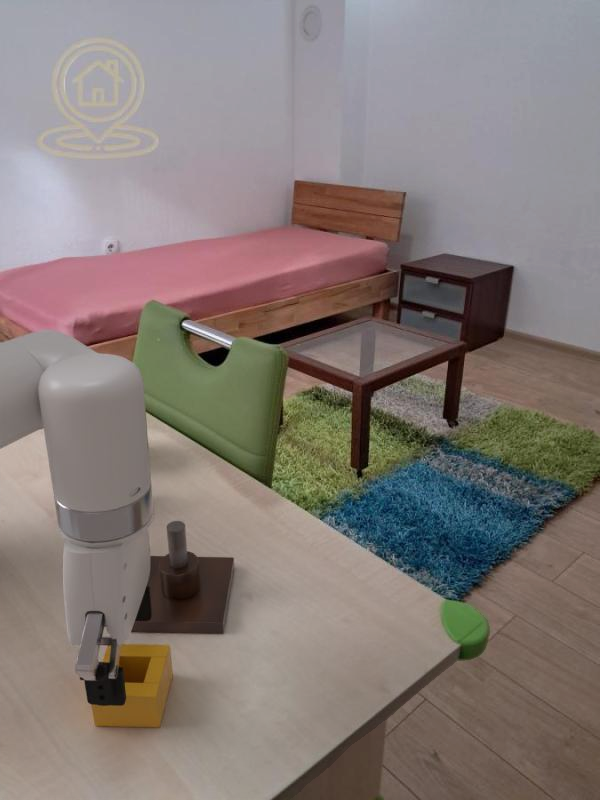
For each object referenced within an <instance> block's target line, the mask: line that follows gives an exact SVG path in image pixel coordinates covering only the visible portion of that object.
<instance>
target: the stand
mask: <svg viewBox="0 0 600 800" xmlns="http://www.w3.org/2000/svg"><path fill="white" fill-rule="evenodd" d="M166 536H167V547H168V553H167V554H165V555H150V574H149V582H148V585H147V586H150V595H151V607H152V617H151V619H150V620H149V621H135V622H134V625H133V628H132V630H131V633H175V634H178V633H182V634H224V630H225V627H226V619H227V613H228V607H229V601H230V596H231V589H232V584H233V583H232V582H233V578H234V571H235V557H232V556H230V557H229V556H197V554H196V553H193V552H191V551H188V545H187V533H186V524H185V522H184V521H181V520H173V521H170V522H168V524H166Z"/></svg>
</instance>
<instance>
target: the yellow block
mask: <svg viewBox="0 0 600 800" xmlns="http://www.w3.org/2000/svg"><path fill="white" fill-rule="evenodd" d="M110 651H111V646H107V647H106V649H105V653H104V655H103V658H102V661H101V662H109V660H110ZM172 661H173V660H172V652H171V645H170V644H139V643H135V644H134V643H124V644H122V645H121V649H120V658H119V667H121V668H123V673H124V682H125V690H126V701H125V704H124V705H122V706H115V705H108V706H100V705H92V704H90V706H91V712H92V717H93V723H94V726H95V727H119V728H120V727H121V728H122V727H124V728H125V727H127V728H160V727H161V724H162V721H163V717H164V712H165V708H166V704H167V700H168V695H169V691H170V687H171V685H172V684H171V683H172V680H173V676H174V673H173V672H174V671H173V663H172Z"/></svg>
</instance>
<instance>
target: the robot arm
mask: <svg viewBox="0 0 600 800" xmlns="http://www.w3.org/2000/svg"><path fill="white" fill-rule="evenodd" d="M145 393H146V392H145V383H144V378H143V374H142V373H141V371H140V368H139V367H138V366H137V365H136V364H135V363H134V362H133V361H131V360H129V359H128V358H126V357H124V356H121V355H117V354H111V353H99V352H97V351H95V350H93V349H92V348H90V347H89V346H87V345H85V344H84V343H82V342H80V341H79V340H78V339H76V338H74V337H73V336H71V335H69V334H67V333H64V332H62V331H59V330H53V329H42V330H37V331H33V332H29V333H26V334H23V335H20V336H17V337H14V338H10V339H8V340H6V341H0V450H1V449H3V448H5V447H7V446H9V445H12V444H13V443H15V442H17V441H20V440H21V439H23V438H25V437H27V436H29V435H31V434H33V433H35V432H37V431H40V430H43V434H44V440H45V446H46V452H47V453H46V454H47V459H48V466H49V473H50V479H51V484H52V492H53V498H54V499H53V500H54V505H55V506H54V507H55V512H56V519H57V524H58V531H59V533H60V536H62V538H63V539H64V543H63V551H62V555H63V556H62V588H63V589H62V590H63V601H64V613H65V614H64V615H65V623H66V632H67V638H68V641H69V643H70V644H71V645H72V646H79V647H78V648H79V649H78V653H77V658H76V660H75V661H76V662H75V666H74V670H75V674H76V675H77V676H78V677H79V681H84V689H85V694H86V695H85V696H86V701H87V703H88V704H89V705H91V704H92V705H100V706H108V705H115V706H122V705H124V704H125V701H126V690H125V682H124V673H123V668H121V667H119V658H120V649H121V645H122V644H126V642H127V641H128V640H129V638H130V635H131V633H132V632H131V630H132V628H133V625H134V622H135V621H149V620H150V619H151V617H152V607H151V595H150V586H147V585H148V582H149V574H150V556H151V547H150V539H149V538H150V537H149V528H150V526H151V525H152V523H153V521H154V515H155V514H154V502H153V488H152V477H151V464H150V450H149V448H150V447H149V437H148V421H147V408H146V394H145ZM104 629H106V632H107V633H108V636H107V635H103V634H104ZM101 646H107V647H108V646H111V651H110V660H109V662H102V661H99V654H100V653H99V652H100V648H101Z"/></svg>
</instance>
